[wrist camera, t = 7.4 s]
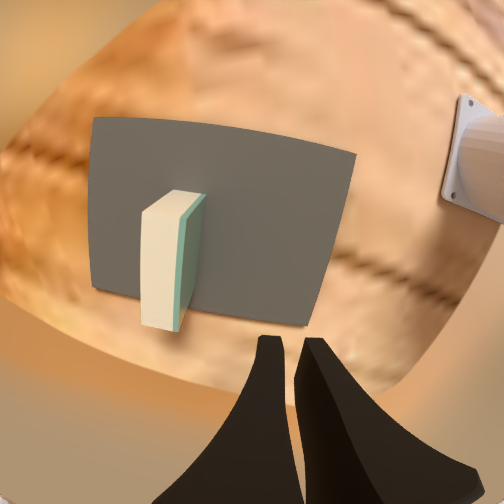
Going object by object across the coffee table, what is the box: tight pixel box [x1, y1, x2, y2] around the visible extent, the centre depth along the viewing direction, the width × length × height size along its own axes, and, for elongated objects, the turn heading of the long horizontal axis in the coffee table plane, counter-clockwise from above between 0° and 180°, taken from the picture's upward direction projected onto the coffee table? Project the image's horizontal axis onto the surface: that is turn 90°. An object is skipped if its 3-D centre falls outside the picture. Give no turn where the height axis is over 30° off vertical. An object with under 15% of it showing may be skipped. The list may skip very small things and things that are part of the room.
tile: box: [140, 190, 206, 332], centre depth 15 cm, size 2×6×5 cm, turn 170°
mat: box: [88, 117, 357, 326], centre depth 17 cm, size 16×12×1 cm
